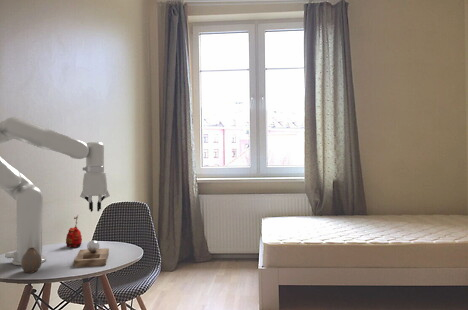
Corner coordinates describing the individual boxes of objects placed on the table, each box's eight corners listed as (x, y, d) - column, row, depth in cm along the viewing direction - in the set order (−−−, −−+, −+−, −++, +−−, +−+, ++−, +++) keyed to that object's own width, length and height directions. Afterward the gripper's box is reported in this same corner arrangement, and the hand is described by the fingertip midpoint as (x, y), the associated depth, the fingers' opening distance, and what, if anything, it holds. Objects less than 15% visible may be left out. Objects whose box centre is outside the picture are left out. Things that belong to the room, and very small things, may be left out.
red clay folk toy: (62, 247, 192) (62, 215, 192) (74, 244, 198) (74, 213, 198) (74, 248, 188) (74, 217, 188) (85, 245, 195) (85, 214, 194)
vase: (33, 274, 150) (33, 250, 150) (17, 273, 151) (17, 249, 151) (45, 269, 157) (45, 246, 157) (29, 267, 158) (29, 245, 158)
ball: (86, 253, 170) (86, 242, 170) (87, 250, 175) (87, 239, 175) (98, 253, 171) (98, 241, 171) (99, 250, 176) (99, 238, 176)
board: (74, 267, 159) (74, 260, 159) (80, 255, 177) (80, 249, 177) (105, 265, 162) (105, 258, 162) (108, 253, 180) (108, 248, 180)
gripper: (74, 170, 174) (74, 213, 174) (113, 170, 178) (113, 211, 178) (77, 169, 182) (77, 210, 182) (114, 169, 185) (114, 209, 186)
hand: (95, 210), depth 180 cm, fingers closed
